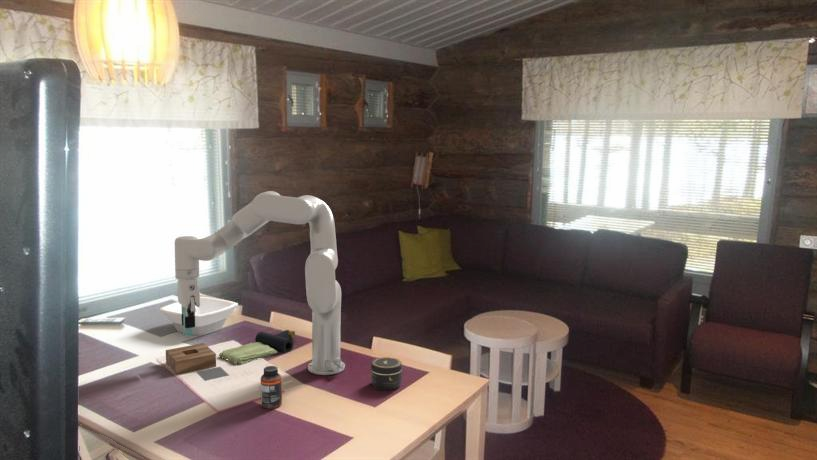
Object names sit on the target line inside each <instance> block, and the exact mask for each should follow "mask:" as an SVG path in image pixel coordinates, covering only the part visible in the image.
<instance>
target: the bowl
mask: <svg viewBox="0 0 817 460" xmlns="http://www.w3.org/2000/svg"><path fill="white" fill-rule="evenodd" d="M237 306H239V303H238V302H235V301H231V300H226V299H222V298H214V297H207V296H206V297H205V296H200V306H199V307H197V306H195V309H196V312H195V327H193V335H192V336H193V337H194V336H196V337H203V336H206V335H210V334H211V333H215V332H216V331H219V330H221V329H223V327H224V325H225V324H226V320H227V319H228V317H230V315H231V314H232V312H233V311H234V310H235V309H236V307H237ZM158 310H159V311H160V313H162V315H164V316H165V317H166V318H167V319H168V320H170V322H172V324H173V326H174V327H175V329H176V331H177V333H180V334H184V325H182V312H181V304H180V303H179V302H178V301H175V302H173V303H169V304H168V305H167V304H166V305H164V306H162V307H160V308H159V309H158Z"/></svg>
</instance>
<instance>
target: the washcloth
mask: <svg viewBox="0 0 817 460" xmlns="http://www.w3.org/2000/svg"><path fill="white" fill-rule="evenodd" d="M276 354H278V350H275V349H273V348H271V347H269V346H268V345H264V344H262V343H261V342H256V341H255V342H250V343H246V344H243V345H240V346H237V347H231V348H229V349H225V350H223V351H221V352H219V354H218V357H219V356H220V357H223V358H225V359H228V360H229V361H228V360H227V361H228V362H230V361H231V362H232V363H231V364H233V363H234V364H233V365H236V366H238V365H239V366H240V365H245V364H248V363H250V362H252V361H251V360H254V361H256V360H258V359H257V358H260V359H263V358H268V357H272V356H274V355H276ZM220 357H219V358H220ZM225 359H224V360H225ZM255 359H256V360H255ZM247 362H248V363H247Z"/></svg>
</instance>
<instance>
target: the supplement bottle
mask: <svg viewBox="0 0 817 460" xmlns="http://www.w3.org/2000/svg"><path fill="white" fill-rule="evenodd" d="M278 370H279V369H278V367H277V366H275V365H269V366H265V367H264V368H263V374H262V375H261V376H260V401H261V402H260V405H261V407H262V408H264V409H267V410H270V409H276V408H279V407H280V406H281V405H282V404H283V394H282V393H283V391H282V388H283V387H282V375H281V374H280V373H278V372H279V371H278Z"/></svg>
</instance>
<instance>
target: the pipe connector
mask: <svg viewBox="0 0 817 460" xmlns="http://www.w3.org/2000/svg"><path fill="white" fill-rule="evenodd" d="M295 335H296V331H294V330H290V329H286V330H283V331H281V332H279V333H276V334H272V333H268V332H265V331H259V332H258V333H257V334H256V336H255V339H254V341H255V342H261V343H262V344H264V345H268V346H269V347H271V348H273V349H274V350H276V351H280V352H283V353H289V352H291V351H292V350H293V349H294V342H296V338H295V337H294V336H295Z"/></svg>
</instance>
